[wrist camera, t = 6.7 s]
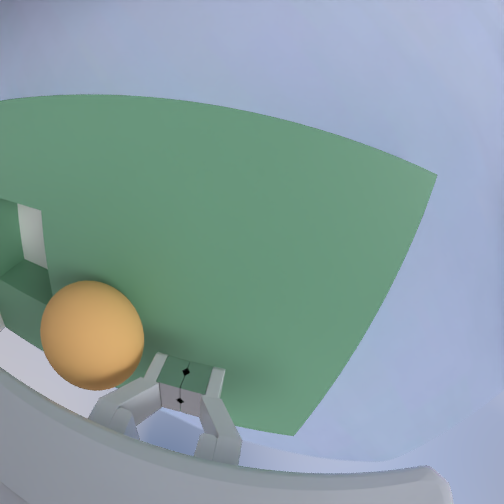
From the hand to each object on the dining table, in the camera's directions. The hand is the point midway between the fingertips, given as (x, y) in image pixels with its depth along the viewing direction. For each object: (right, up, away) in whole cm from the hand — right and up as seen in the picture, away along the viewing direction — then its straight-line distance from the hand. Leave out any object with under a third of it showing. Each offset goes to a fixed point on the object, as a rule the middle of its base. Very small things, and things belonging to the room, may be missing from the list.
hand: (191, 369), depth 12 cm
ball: (-5, +1, -1) cm, 5 cm away
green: (-5, +5, +4) cm, 8 cm away
